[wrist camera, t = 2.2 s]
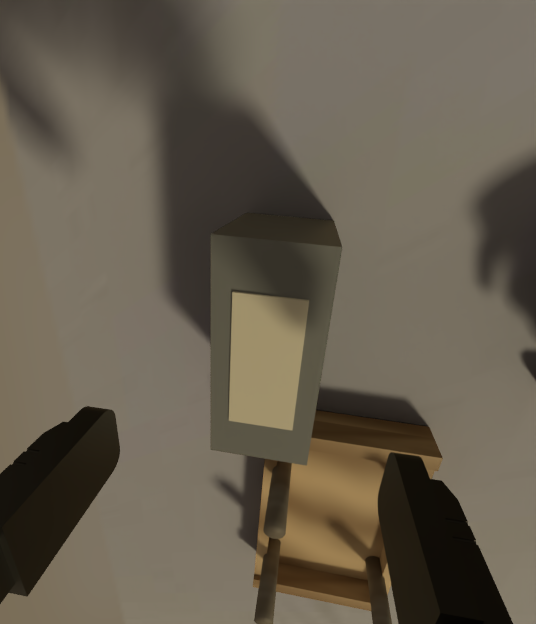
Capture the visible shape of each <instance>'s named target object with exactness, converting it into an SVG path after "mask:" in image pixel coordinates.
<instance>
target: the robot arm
mask: <svg viewBox="0 0 536 624" xmlns="http://www.w3.org/2000/svg"><path fill="white" fill-rule="evenodd" d="M119 454H120V446H119V439H118V432H117V425H116V418H115V413H114V411H112V410H109V409H102V408H95V407H89V406H87V407H84V408H82V409H81V410H80V411H79V412H78V413H77V414H76V415H75V416H74V417H73V418H72V419H71V420H70V421H69V422H62V423H60V424H59V425H57V426H55V427H53V428H52V429H50V430H48V431H46V432H45V433H44V434H42V435H41V436H40V437H39V438H38V439H37V440H36V441H35V442H34V443H33V444H31V445H30V447H28V448H27V451H26V452H23V453H22V454H21V455H20V456H19V457H18V458H17V459H16V460H15V461H14V463H13V464H12V465H9V466H8V467H7V468H6V469H5V470H4V471H3V472H2V473H1V474H0V604H1V602H2V601H3V599H4V598H5V597H6V595H7V594H8V593H14V594H18V595H23V596H28V595H29V593H30V592H31V590H32V589H33V588H34V586H35V585H36V583H37V581H38V580H39V579H40V577H41V576H42V574H43V573H44V571H45V570H46V569H47V567H48V566H49V564H50V563H51V561H52V560H53V558H54V557H55V555H56V554H57V553H58V551H59V550H60V548H61V547H62V545H63V544H64V542H65V541H66V539H67V538H68V536H69V535H70V533H71V532H72V531H73V529H74V528H75V526H76V525H77V523H78V522H79V520H80V519H81V518H82V516H83V515H84V513H85V512H86V510H87V509H88V507H89V506H90V504H91V503H92V501H93V500H94V499H95V497H96V496H97V494H98V493H99V491H100V490H101V488H102V487H103V485H104V484H105V483H106V481H107V480H108V478H109V477H110V475H111V474H112V472H113V471H114V469H115V467H116V465H117V462H118V459H119ZM378 516H379V522H380V527H381V532H382V538H383V543H384V548H385V554H386V559H387V564H388V569H389V575H390V580H391V585H392V591H393V596H394V601H395V607H396V612H397V617H398V623H399V624H513V623H512V620H511V618H510V616H509V614H508V611H507V609H506V607H505V605H504V602H503V600H502V598H501V596H500V593H499V591H498V589H497V587H496V584H495V582H494V580H493V578H492V575H491V573H490V571H489V569H488V566H487V564H486V562H485V560H484V557H483V555H482V553H481V551H480V548H479V546H478V545H476V539H475V537H474V535H473V533H472V530H471V528H470V526H468V524H467V523H468V521H467V519H466V517H465V515H464V512H463V510H462V508H461V506H460V503H459V501H458V499H457V498H456V497H455V496H454V495H453V494H452V492H451V491H450V490H449V489H448V488H447V486H446V485H445V484H444V483H443V482H442V481H440V480H433V479H430V478H429V475H428V472H427V470H426V467H425V464H424V462H423V460H422V458H421V457H420V456H414V455H407V454H401V453H394V452H391V453H390V454H389V456H388V459H387V462H386V466H385V470H384V473H383V477H382V481H381V484H380V488H379V492H378Z"/></svg>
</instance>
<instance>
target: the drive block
mask: <svg viewBox="0 0 536 624" xmlns="http://www.w3.org/2000/svg"><path fill="white" fill-rule="evenodd" d="M341 251H342V245H341V242H340V239H339V235H338V232H337V229H336V226H335V223H334V221H333V220H322V219H311V218H300V217H289V216H278V215H267V214H256V213H246V214H244V215H242V216H241V217H239V218H237V219H235V220H234V221H232V222H230V223H229V224H227V225H225V226H224V227H222V228H220V229H218V230H217V231H215V232H213V233H212V234H211V450H216V451H222V452H228V453H234V454H240V455H246V456H252V457H258V458H264V459H270V460H276V461H282V462H288V463H294V464H300V465H306V466H307V461H308V455H309V449H310V443H311V437H312V430H313V424H314V418H315V412H316V406H317V400H318V393H319V387H320V381H321V375H322V369H323V363H324V356H325V350H326V344H327V338H328V332H329V325H330V319H331V313H332V307H333V301H334V295H335V288H336V282H337V276H338V270H339V264H340V258H341Z"/></svg>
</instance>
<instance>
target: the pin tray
mask: <svg viewBox="0 0 536 624" xmlns="http://www.w3.org/2000/svg"><path fill="white" fill-rule="evenodd" d="M391 452H394V453H401V454H407V455H414V456H420V457H421V458H422V460H423V462H424V464H425V467H426V470H427V472H428V475H429V478H430V479H432V476H433V474H434V471H438V469H439V467H440V464H441V462H442V459H443V458H442V456H441V453H440V451H439V449H438V446H437V444H436V442H435V439H434V437H433V435H432V432H431V430H430V428H429V427H427V426H420V425H413V424H406V423H400V422H393V421H386V420H379V419H373V418H366V417H359V416H353V415H346V414H339V413H332V412H326V411H319V410H316V412H315V418H314V424H313V430H312V437H311V443H310V449H309V455H308V461H307V466H306V465H300V464H294V463H288V462H282V461H276V460H270V459H265V462H264V473H263V484H262V495H261V506H260V517H259V528H258V540H257V551H256V562H255V573H254V581H253V587H257V588H259V590H258V597H257V605H256V612H255V619H254V621H255V622H256V623H257V624H273V616H274V606H275V596H276V592H281V593H286V594H291V595H296V596H300V597H305V598H310V599H315V600H320V601H325V602H330V603H334V604H339V605H344V606H349V607H354V608H359V609H364V610H369V611H371V612H372V620H373V624H392V621H391V615H390V609H389V603H388V597H387V594H388V592H389V589H390V587H391V580H390V575H389V569H388V564H387V559H386V554H385V548H384V543H383V538H382V532H381V527H380V522H379V516H378V492H379V488H380V484H381V481H382V477H383V473H384V470H385V466H386V462H387V459H388V456H389V454H390V453H391Z"/></svg>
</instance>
